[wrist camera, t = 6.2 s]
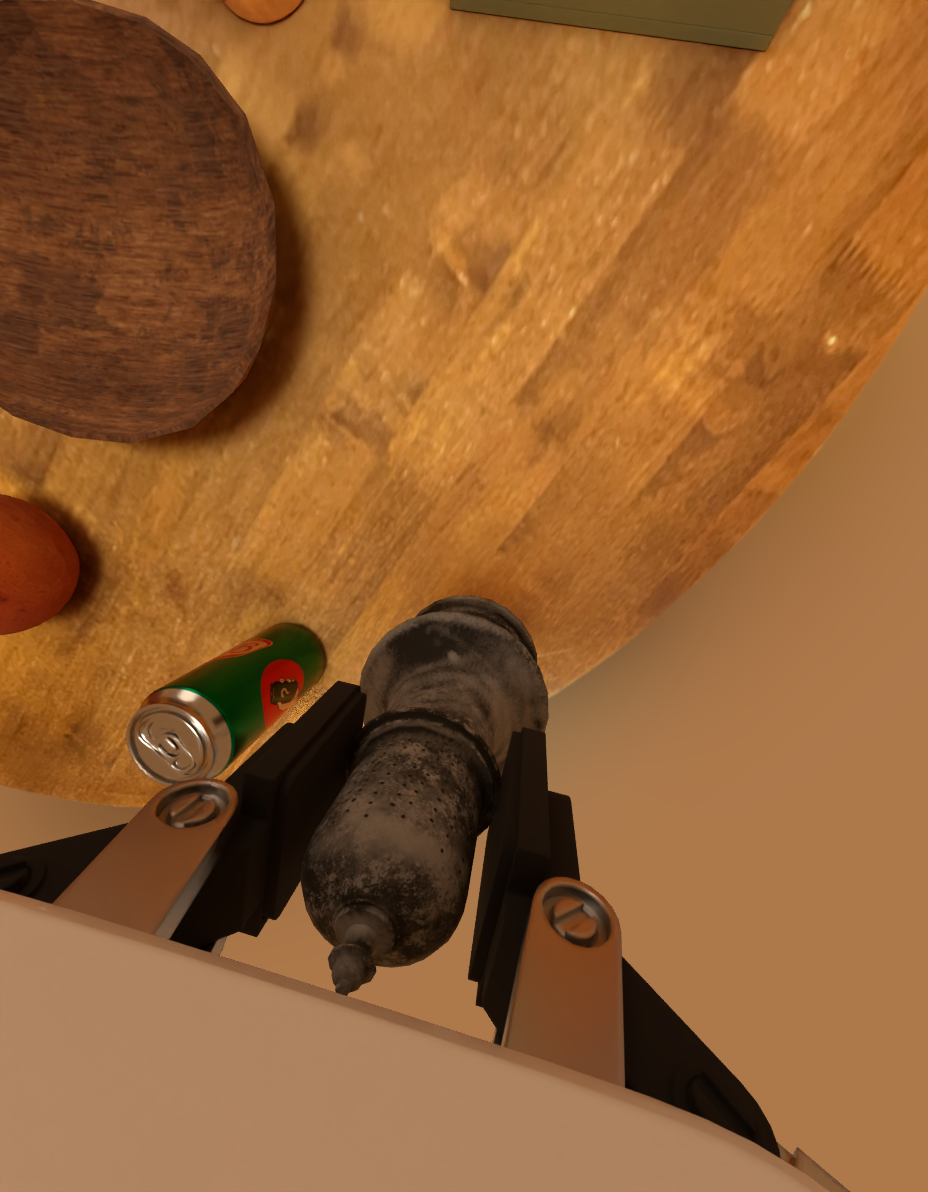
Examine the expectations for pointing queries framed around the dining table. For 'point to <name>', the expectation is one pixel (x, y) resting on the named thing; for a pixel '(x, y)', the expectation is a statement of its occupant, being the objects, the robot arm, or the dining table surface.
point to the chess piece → (420, 784)
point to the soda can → (223, 705)
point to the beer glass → (262, 9)
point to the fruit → (33, 566)
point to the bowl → (124, 226)
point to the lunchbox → (654, 17)
